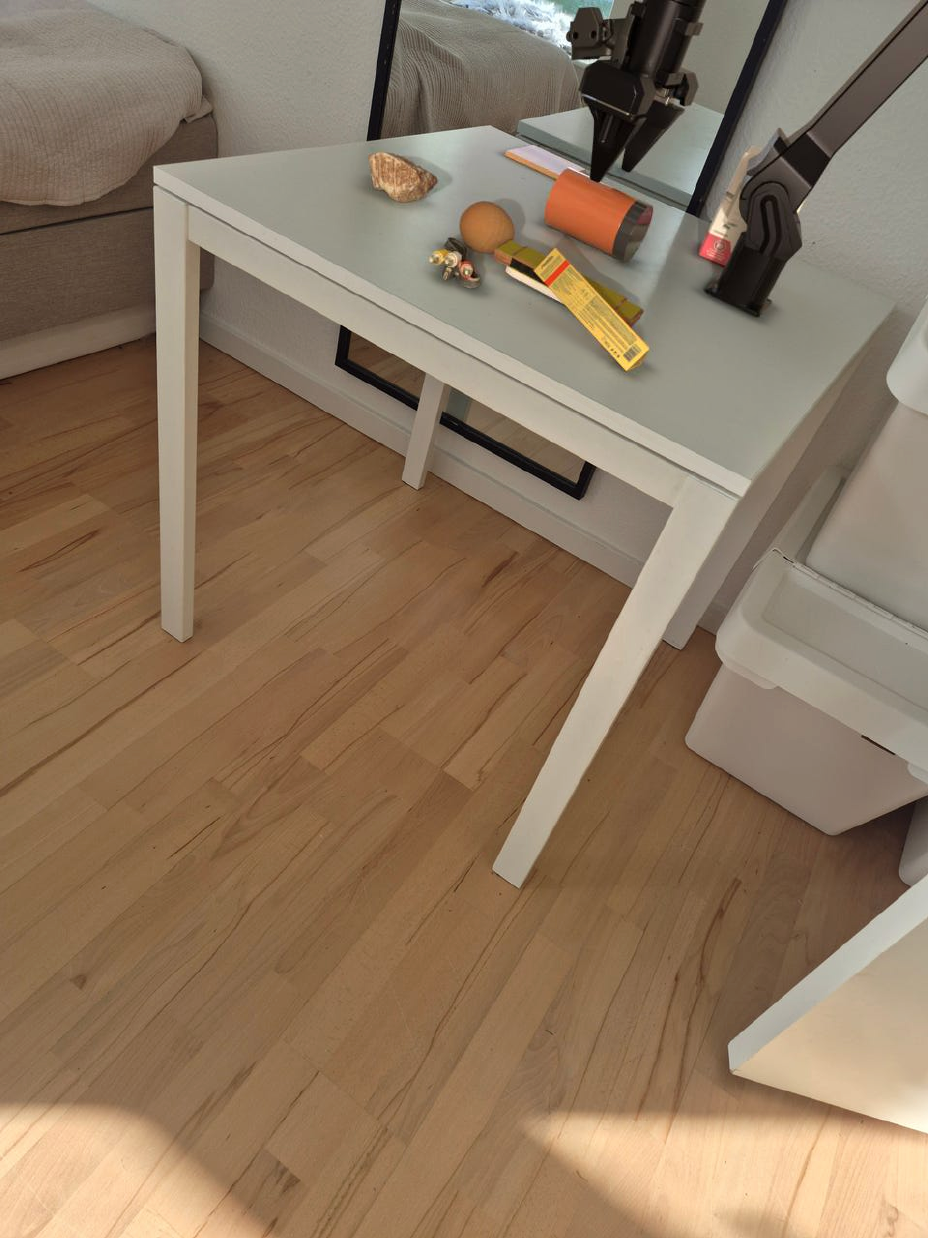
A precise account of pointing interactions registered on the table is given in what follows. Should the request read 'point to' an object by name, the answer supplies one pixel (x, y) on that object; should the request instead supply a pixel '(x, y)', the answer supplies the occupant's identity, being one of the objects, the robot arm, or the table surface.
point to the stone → (400, 177)
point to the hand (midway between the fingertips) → (610, 175)
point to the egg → (486, 227)
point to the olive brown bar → (522, 268)
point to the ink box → (728, 217)
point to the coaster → (542, 160)
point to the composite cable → (456, 263)
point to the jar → (597, 214)
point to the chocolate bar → (592, 310)
